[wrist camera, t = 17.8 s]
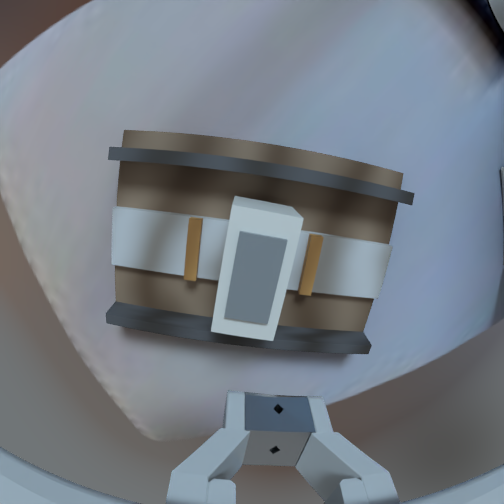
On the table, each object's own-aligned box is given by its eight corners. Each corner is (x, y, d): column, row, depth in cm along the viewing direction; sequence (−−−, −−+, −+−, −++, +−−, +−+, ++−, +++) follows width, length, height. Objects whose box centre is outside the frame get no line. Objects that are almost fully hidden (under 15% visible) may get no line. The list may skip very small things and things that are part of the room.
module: (291, 206, 24) (304, 219, 19) (268, 309, 26) (273, 343, 21) (234, 195, 23) (231, 205, 18) (216, 300, 26) (210, 333, 21)
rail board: (395, 172, 25) (417, 175, 21) (351, 344, 30) (363, 366, 26) (130, 131, 24) (112, 127, 20) (122, 316, 29) (107, 336, 25)
